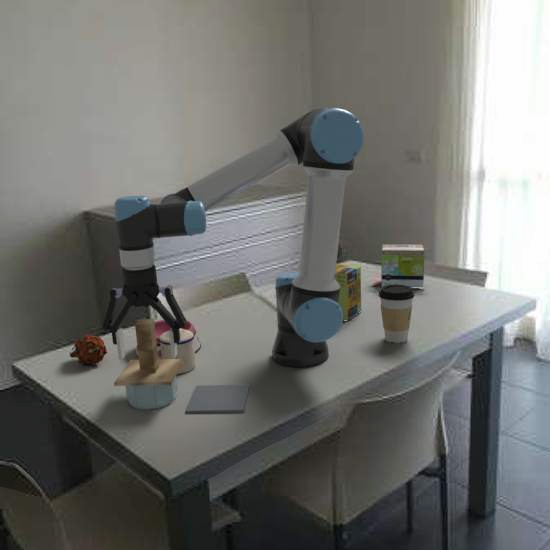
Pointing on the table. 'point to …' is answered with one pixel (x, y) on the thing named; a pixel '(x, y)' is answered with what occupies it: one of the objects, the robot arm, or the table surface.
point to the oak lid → (148, 361)
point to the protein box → (349, 289)
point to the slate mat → (218, 399)
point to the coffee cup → (396, 311)
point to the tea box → (402, 265)
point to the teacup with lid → (180, 349)
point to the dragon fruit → (89, 350)
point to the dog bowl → (164, 327)
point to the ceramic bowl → (151, 395)
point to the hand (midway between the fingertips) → (148, 356)
